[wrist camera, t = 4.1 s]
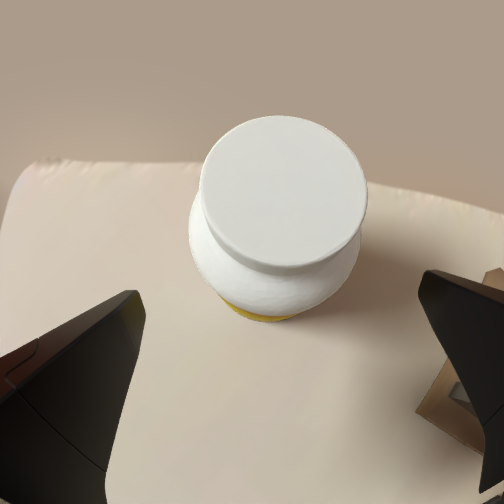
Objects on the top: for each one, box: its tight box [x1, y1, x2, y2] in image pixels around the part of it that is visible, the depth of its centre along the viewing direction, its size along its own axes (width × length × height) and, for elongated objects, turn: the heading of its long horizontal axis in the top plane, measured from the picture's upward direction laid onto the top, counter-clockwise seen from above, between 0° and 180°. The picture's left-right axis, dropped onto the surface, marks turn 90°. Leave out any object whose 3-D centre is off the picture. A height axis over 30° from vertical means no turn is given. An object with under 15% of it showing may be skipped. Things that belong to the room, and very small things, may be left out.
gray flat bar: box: [448, 382, 478, 419], centre depth 13 cm, size 1×10×4 cm, turn 53°
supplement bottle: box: [189, 116, 368, 322], centre depth 14 cm, size 7×7×13 cm
